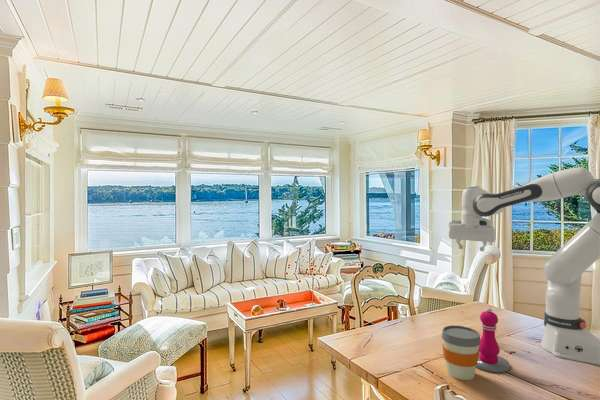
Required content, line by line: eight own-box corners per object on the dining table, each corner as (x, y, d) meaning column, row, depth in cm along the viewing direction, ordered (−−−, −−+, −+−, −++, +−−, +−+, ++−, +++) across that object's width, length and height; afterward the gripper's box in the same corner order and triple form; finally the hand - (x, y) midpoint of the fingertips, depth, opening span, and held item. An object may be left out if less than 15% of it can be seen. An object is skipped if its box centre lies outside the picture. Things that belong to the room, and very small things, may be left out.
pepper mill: (502, 365, 129) (503, 311, 129) (481, 363, 130) (481, 310, 130) (495, 356, 136) (495, 305, 136) (475, 355, 138) (475, 304, 137)
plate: (513, 362, 134) (513, 359, 134) (504, 377, 124) (504, 373, 124) (473, 351, 143) (473, 348, 143) (462, 364, 133) (462, 360, 133)
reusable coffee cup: (435, 373, 126) (435, 331, 126) (450, 361, 135) (450, 322, 135) (472, 387, 117) (472, 342, 117) (485, 373, 126) (485, 331, 126)
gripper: (446, 220, 172) (446, 248, 172) (493, 222, 158) (492, 253, 159) (451, 219, 177) (451, 246, 177) (497, 221, 163) (496, 251, 163)
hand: (471, 250), depth 168 cm, fingers open, 8 cm apart
